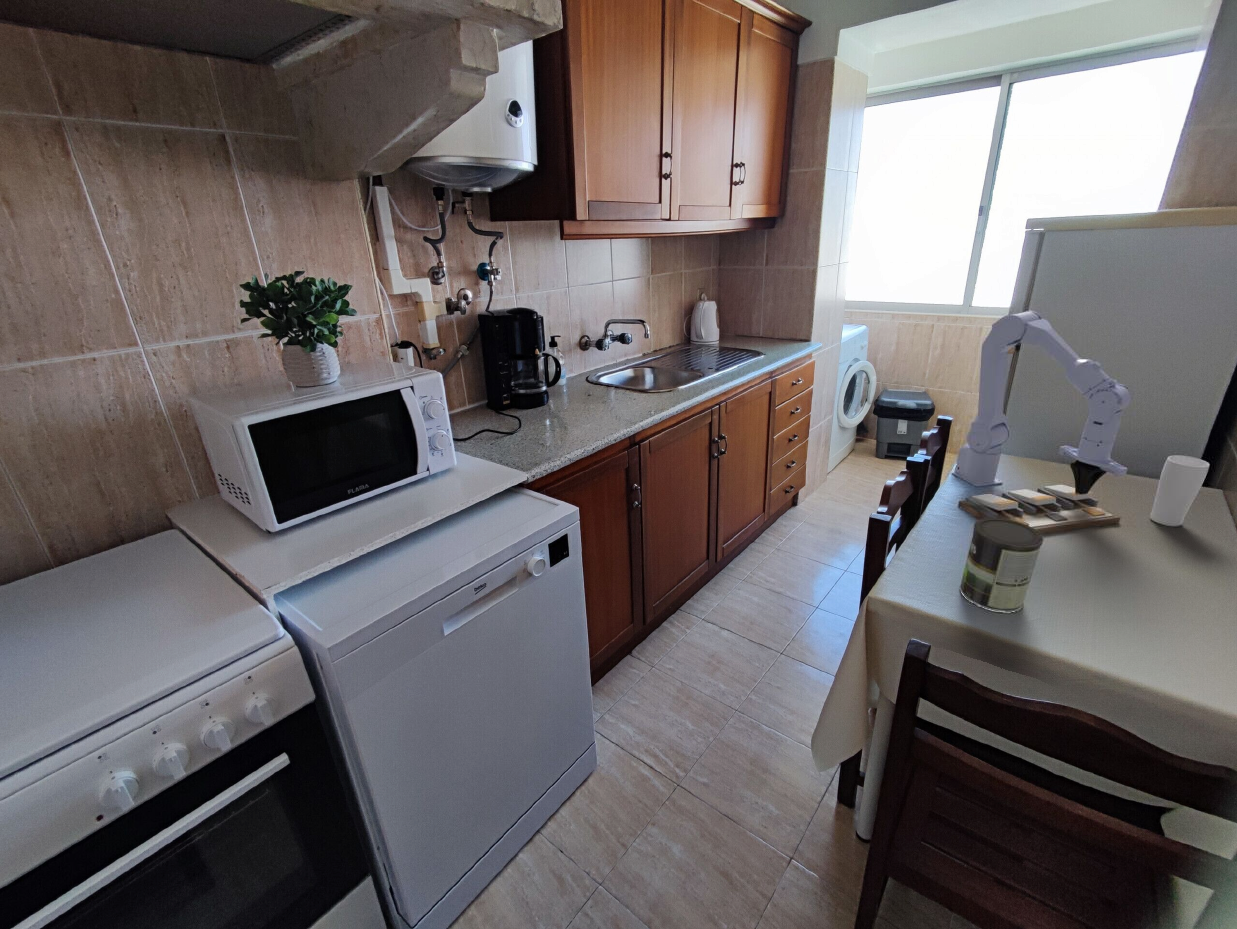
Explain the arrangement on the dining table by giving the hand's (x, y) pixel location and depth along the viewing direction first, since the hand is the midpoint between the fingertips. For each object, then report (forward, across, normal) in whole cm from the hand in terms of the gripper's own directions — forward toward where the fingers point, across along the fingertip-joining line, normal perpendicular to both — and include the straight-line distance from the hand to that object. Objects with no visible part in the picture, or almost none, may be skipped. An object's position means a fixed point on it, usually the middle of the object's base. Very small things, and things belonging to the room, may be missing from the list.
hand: (1081, 493), depth 131 cm
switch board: (+5, +1, +10) cm, 11 cm away
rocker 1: (+2, +3, +20) cm, 20 cm away
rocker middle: (+2, +3, +10) cm, 11 cm away
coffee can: (+5, -24, +44) cm, 50 cm away
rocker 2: (+2, +3, 0) cm, 4 cm away
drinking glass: (+5, -9, -14) cm, 17 cm away
